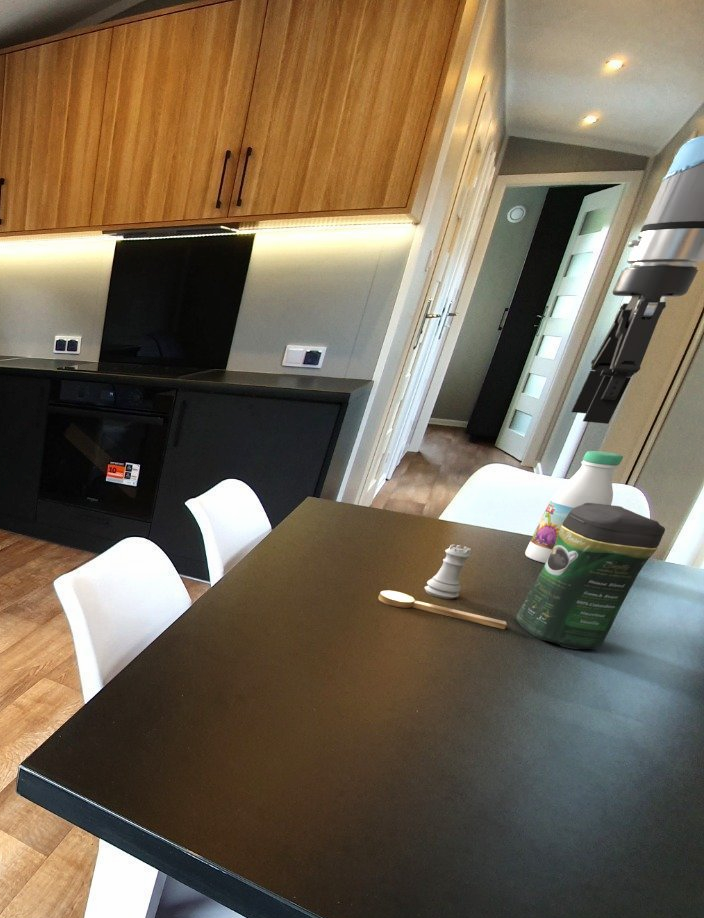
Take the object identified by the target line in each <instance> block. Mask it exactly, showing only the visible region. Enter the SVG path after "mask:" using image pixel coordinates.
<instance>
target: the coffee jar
mask: <svg viewBox="0 0 704 918" xmlns="http://www.w3.org/2000/svg"><path fill="white" fill-rule="evenodd" d="M562 524H563V525H561V528H560V530H559V534H558V537H557V540H556V543H555V545H554V548H553V550H552V552H551V554H550V556H549V558H548V559H547V561H546V563H544V565H543V567H542V568H541V571H540V572H539V574H538V576H537V578H536V580H534V583H533V585H532V587H531V589H530V590H529V592H528V593H527V595H526V597H525V599H524V600H523V602H522V604H521V606H520V608H519V610H518V612H517V614H516V616H515V619H516V621H517V623H518V624H519V625H520V626H521V627H522V628H523V629H524V630H525V631H526V632H528V633H529V634H530V635H532V636H533V637H535V638H536V639H539V640H541V641H546V642H549V643H550V642H551V643H553V644H556V645H558V646H560V647H563V648H568V649H573V650H574V649H575V650H584V649H585V650H587V649H590V650H592V649H598V648H600V647H601V646H602V645H603V643H604V641H605V640H606V637H607V636H608V634H609V633H610V632H609V631H610V630H611V628H612V626H613V624H614V622H615V620H616V618H617V616H618V614H619V612H620V610H621V608H622V606H623V604H624V602H625V600H626V598H627V596H628V593H629V592H630V590H631V589H632V587H633V585H634V583H635V581H636V579H637V577H638V576H639V574H640V572H641V571H642V569H643V567H644V566H645V564H646V563H647V562H648V560H650V558H651V557H652V556H653V555H654V554H655V552H656V551H657V550H658V549H659V546H660V543H661V541H662V539H663V536H664V534H665V531H666V528H665V527H664V526H663V525H661V524H660V523H659V521H658V520H654V519H651V518H649V517H646V516H643V515H641V514H639V513H637V512H634V511H631V510H629V509H627V508H624V507H623V506H620V505H613V504H611V505H604V504H596V503H584V504H583V505H580V506H577V507H575V508H573V509H572V510H571V511H570V512H569V514H568V516H567V517H566V519H565V520H564V522H563V523H562Z"/></svg>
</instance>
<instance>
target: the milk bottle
mask: <svg viewBox="0 0 704 918" xmlns="http://www.w3.org/2000/svg"><path fill="white" fill-rule="evenodd" d="M623 459H624V456H623V455H622V454H619V453H614V452H608V451H600V450H599V451H598V450H588V451H586V452H585V454H584V455H583V458H582V460H581V463H580V464H581V466H580V468H579V469H578V470H577V471H576V472H575V473H574V475H572V476H571V477H570V478H569V479H568V480H567V481H565V482H564V483H563V484H562V485H561V486H559V488H557V490H556V491H555V492H554V493H553V495H552V497H551V499H550V500H549V503H548V504H547V506H546V508H545V510H544V512H543V514H542V517H540V520H539V523H538V525H537V526H536V529H535V530H534V533H533V534H532V537H531V539H530V541H529V543H528V545H527V547H526V549H525V556H526V557H527V558H529V559H531V560H534V561H536V562H540V563H543V564H545V563H546V561H547V559H548V558H549V556H550V554H551V552H552V550H553V548H554V545H555V543H556V540H557V537H558V534H559V530H560V528H561V525H563V524H562V523H563V522H564V520H565V519H566V517H567V516H568V514H569V512H570V511H571V510H572V509H573V508H575V507H577V506H580V505H583V504H584V503H596V504H604V505H612V503H613V500H614V499H613V498H614V490H613V475H614V472H615V471H616V469H619V465H621V463H622V461H623Z"/></svg>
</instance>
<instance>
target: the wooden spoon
mask: <svg viewBox="0 0 704 918" xmlns="http://www.w3.org/2000/svg"><path fill="white" fill-rule="evenodd" d="M378 600H379V601H380V602H381V603H382V604H383V603H384V604H386V605H388V606H392V607H395V608H401V609H410V608H413V609H417V610H421V611H426V612H429V613H434V614H438V615H442V616H447V617H450V618H454V619H458V620H463V621H467V622H471V623H476V624H480V625H483V626H488V627H492V628H497V629H500V630H506V628H507V626H508V624H507V623H508V622H507V621H505V620H501V619H497V618H492V617H488V616H484V615H480V614H475V613H471V612H467V611H463V610H458V609H454V608H451V607H450V608H449V607H446V606H441V605H436V604H433V603H428V602H424V601H419V600H416V599H415V598H414V597H413V596H412V595H409V594H406V593H403V592H400V591H397V590H396V591H395V590H382V591H380V592H379V595H378Z"/></svg>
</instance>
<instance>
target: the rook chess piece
mask: <svg viewBox="0 0 704 918" xmlns="http://www.w3.org/2000/svg"><path fill="white" fill-rule="evenodd" d="M461 547H462V545H461V544H457V545H456V544H450V545H449V548H447V549H445V550H444V552H445V554H446V556H445V558H443V559H442V561H443V563H442V564H441V567H440V568H439V570H438V571H437V572H436V574H435V575H434V576H432V578H430V579H428V580H427V582H426V584H427V585H426V586H424V590H425V593H427V594H428V595H430V596H433V597H435V598H441V599H445V600H453V599H456V598H458V597H459V596H460V594H459V592H460V591H462V587H461V585H460V584H461V582H460V577H461V572H462V569H463V567H464V566H466V563H465V562H466V560H467V559H469V558H470V557H472V554H471V550H472V549H471V548H469V547H468V546H463V548H461Z"/></svg>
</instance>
